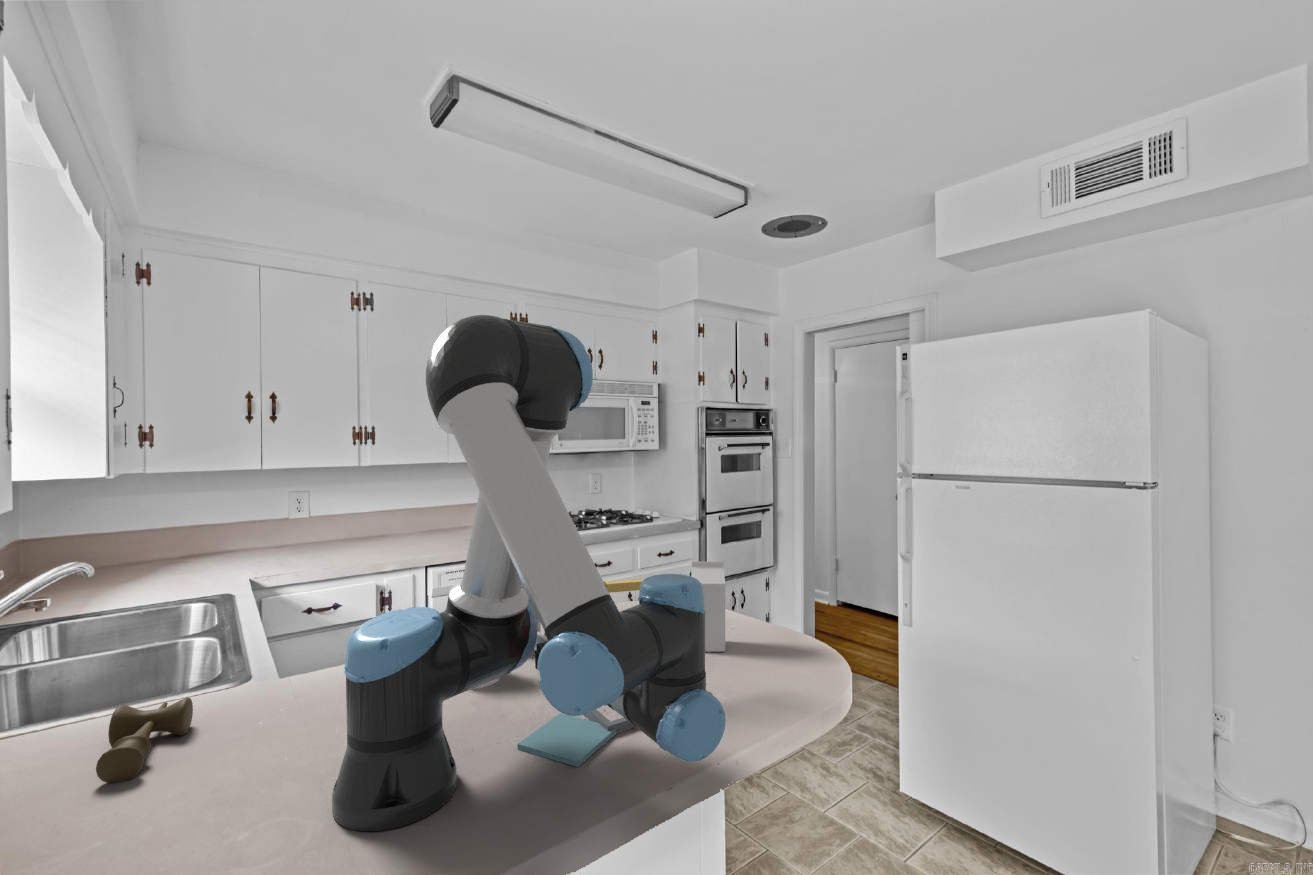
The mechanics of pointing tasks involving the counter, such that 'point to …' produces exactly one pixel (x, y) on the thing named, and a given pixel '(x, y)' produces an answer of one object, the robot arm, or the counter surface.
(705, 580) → the milk carton
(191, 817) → the counter surface
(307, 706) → the counter surface
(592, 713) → the collar
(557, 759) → the mat
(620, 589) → the clip arm
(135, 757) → the kendama
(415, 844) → the counter surface
